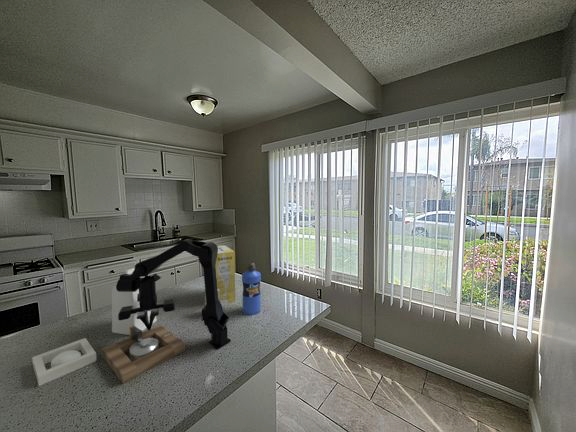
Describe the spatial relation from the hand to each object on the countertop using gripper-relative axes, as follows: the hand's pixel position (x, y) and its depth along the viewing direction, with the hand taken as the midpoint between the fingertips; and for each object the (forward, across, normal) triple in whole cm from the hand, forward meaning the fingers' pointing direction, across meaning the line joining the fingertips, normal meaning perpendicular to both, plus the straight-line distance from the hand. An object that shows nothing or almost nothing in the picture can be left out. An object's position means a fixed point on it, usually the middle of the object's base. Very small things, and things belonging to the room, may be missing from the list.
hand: (149, 329), depth 93 cm
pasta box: (+5, -32, -30) cm, 44 cm away
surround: (+5, +1, +8) cm, 9 cm away
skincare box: (+5, -26, -13) cm, 29 cm away
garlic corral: (+5, +25, +2) cm, 26 cm away
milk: (+5, +7, -15) cm, 17 cm away
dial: (+5, +2, +6) cm, 8 cm away
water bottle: (+5, -44, -8) cm, 45 cm away
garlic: (+5, +24, +3) cm, 25 cm away
